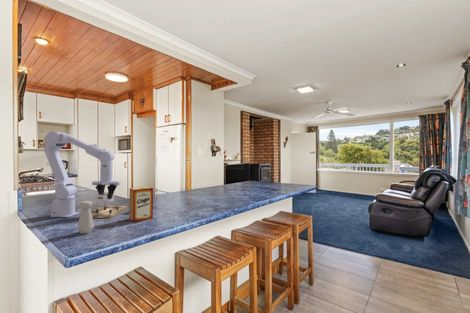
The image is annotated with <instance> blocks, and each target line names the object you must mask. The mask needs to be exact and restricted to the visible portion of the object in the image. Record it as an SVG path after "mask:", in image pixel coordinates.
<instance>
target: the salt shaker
mask: <svg viewBox="0 0 470 313" xmlns="http://www.w3.org/2000/svg"><path fill="white" fill-rule="evenodd" d="M92 207H93V201H90V200H84V201H81V202H80V203H79V208H81V209H80V212H79V213H80V214H79V220H78V224H77V231H78V233H79V234H80V235H86V234H87V235H88V234H90V233H92V232H93V230H94V229H95V228H94V227H95V224H94V223H95V222H94V220H93V218H92V213H91V211H92V209H91V208H92Z"/></svg>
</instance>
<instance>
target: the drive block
mask: <svg viewBox="0 0 470 313" xmlns="http://www.w3.org/2000/svg"><path fill="white" fill-rule="evenodd" d="M114 201H115V192H114V193H113V196H112V199H109V197H108V191H106V192H105V191H104V193H102V194H99V193H98V194H96V206H98V205H101V206H102V205H103V206H106V205H107V204H110V203H112V202H114Z"/></svg>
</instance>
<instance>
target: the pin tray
mask: <svg viewBox="0 0 470 313" xmlns="http://www.w3.org/2000/svg"><path fill="white" fill-rule="evenodd" d="M126 211H128V206H127V205H126V206H123V205H122V206H121V205H119V206H118V205H116V206H115V205H103V206H102V207H99V208H96V209H93V210H91V213H92V218H95V219H111V218H113V217H114V218H115V216H118V215H120V214H122V213H124V212H126Z"/></svg>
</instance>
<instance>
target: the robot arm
mask: <svg viewBox="0 0 470 313" xmlns="http://www.w3.org/2000/svg"><path fill="white" fill-rule="evenodd" d="M44 141H45V142H44V150H43V151H44V154H45V156H46V159H47V160H48V164H49V166H50V169H51V171H52V175H53V177H54V179H55V182H56V183H55V185H54V195H55V197H56V198H54V199H53V200H52V202H51V215H50V217H51V218H69V217H72V216H76V215H78V214H79V213H80V212H79V211H78V212H77V211H76V195H77V193H78V187H77V186H76V185H75V184H74V182H73V181H72V180H71V179H70V178H69V175H68V173H67V170H66V168H65V164H64V163H63V160H62V158H61V155H60V152H59V151H60V150H61V149H62V148H63V147H64V146H65V145H67V144H71V145H74V146H76V147H78V148H80V149H83V150H85V153H86V154H88V155H89V156H92V157H94V158H95V159H98V160H99V161H100V166H99V171H100V172H99V173H100V174H99V180H98V181H97V180H96V181H95V180H94V181H92V182H91V186H95V189H96V191H97V193H98V194H102V193H105V190H106V188H107V192H108V197H109V199H112V196H113V193H114V194H115V191H116V189H117V187H118V186H121V181H117V180H116V181H113V168H114V167H113V165H114V164H113V160H114V158H115V156H114V153H113V152H111V151H109V150H107V149H105V148H101V147H100V146H99V145H98V144H96V143H90V144H88V143H86V142H84V141H83V140H81V139H79V138H77V137H75V136H74V135H72V134H69V133H66V132H60V131H54V130H51V131H49V132H47V134H46V135H45V137H44Z"/></svg>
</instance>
